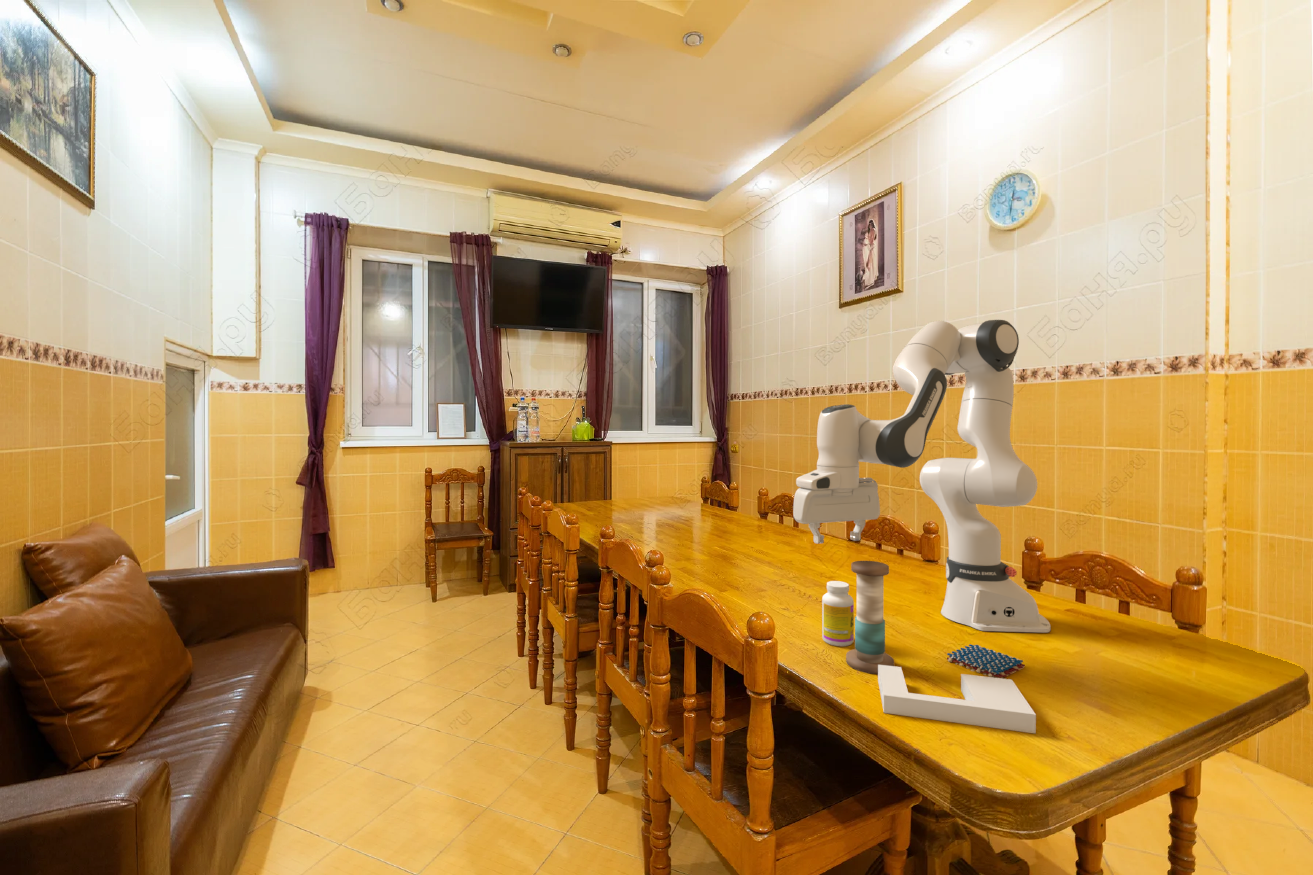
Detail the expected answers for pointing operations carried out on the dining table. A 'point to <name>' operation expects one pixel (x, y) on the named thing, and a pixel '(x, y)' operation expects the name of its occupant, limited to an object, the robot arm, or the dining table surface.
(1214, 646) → the dining table surface
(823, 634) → the supplement bottle
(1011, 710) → the notched board
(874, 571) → the bobbin
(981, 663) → the woven mat
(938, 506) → the robot arm
